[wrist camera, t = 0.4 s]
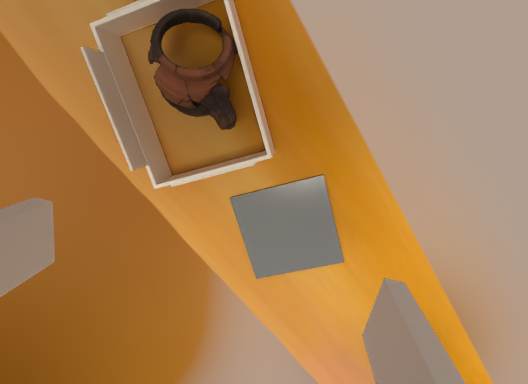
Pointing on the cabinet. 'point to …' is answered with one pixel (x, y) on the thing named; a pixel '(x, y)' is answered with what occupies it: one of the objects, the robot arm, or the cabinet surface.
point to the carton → (131, 100)
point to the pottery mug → (195, 72)
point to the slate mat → (288, 227)
